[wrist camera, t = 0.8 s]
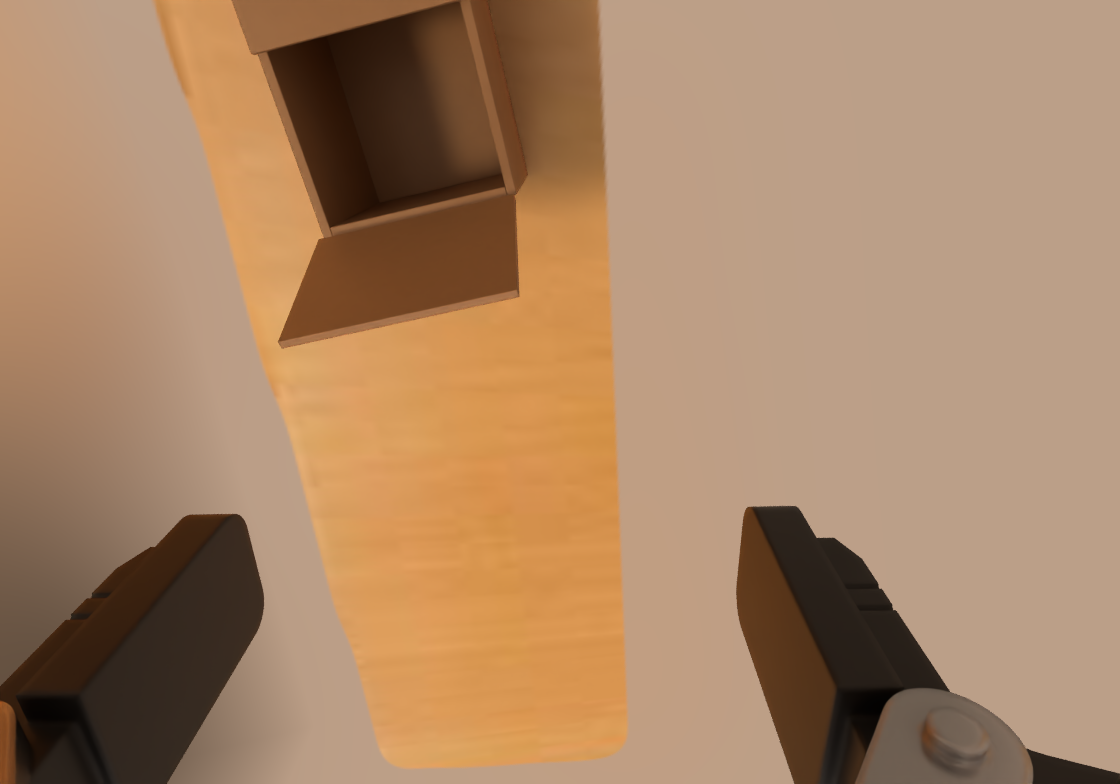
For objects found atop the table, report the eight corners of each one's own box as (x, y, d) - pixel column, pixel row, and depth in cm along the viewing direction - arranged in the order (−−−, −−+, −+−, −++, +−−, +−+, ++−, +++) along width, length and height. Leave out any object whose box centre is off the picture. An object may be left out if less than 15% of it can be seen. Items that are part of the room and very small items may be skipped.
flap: (513, 193, 26) (515, 200, 26) (318, 239, 27) (321, 245, 27) (517, 289, 21) (519, 297, 21) (277, 342, 22) (281, 349, 22)
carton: (527, 175, 34) (515, 196, 26) (377, 210, 35) (318, 242, 27) (453, -145, 29) (408, -247, 21) (278, -95, 30) (166, -174, 21)
